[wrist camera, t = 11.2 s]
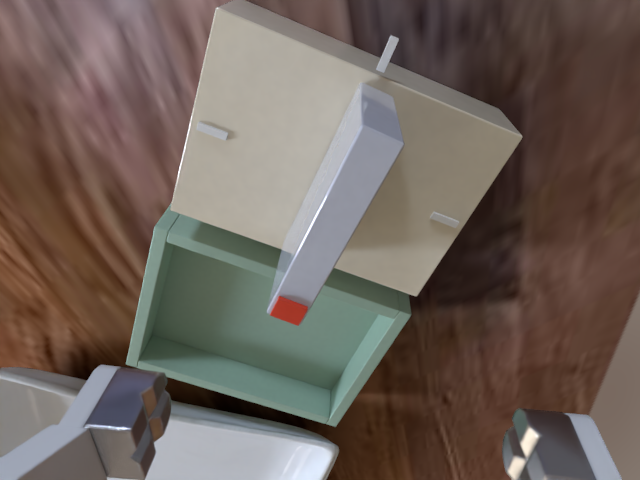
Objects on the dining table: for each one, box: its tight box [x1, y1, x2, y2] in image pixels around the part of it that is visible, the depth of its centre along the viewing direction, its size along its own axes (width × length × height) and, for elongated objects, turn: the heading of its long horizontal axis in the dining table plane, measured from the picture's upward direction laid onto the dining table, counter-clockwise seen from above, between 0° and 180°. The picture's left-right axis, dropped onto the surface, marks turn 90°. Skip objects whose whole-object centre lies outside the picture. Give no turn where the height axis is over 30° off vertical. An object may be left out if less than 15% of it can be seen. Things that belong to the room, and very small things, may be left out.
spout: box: [267, 82, 405, 326], centre depth 19 cm, size 9×2×6 cm, turn 156°
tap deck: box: [170, 0, 523, 296], centre depth 23 cm, size 14×13×4 cm
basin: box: [126, 204, 411, 427], centre depth 31 cm, size 16×12×3 cm
